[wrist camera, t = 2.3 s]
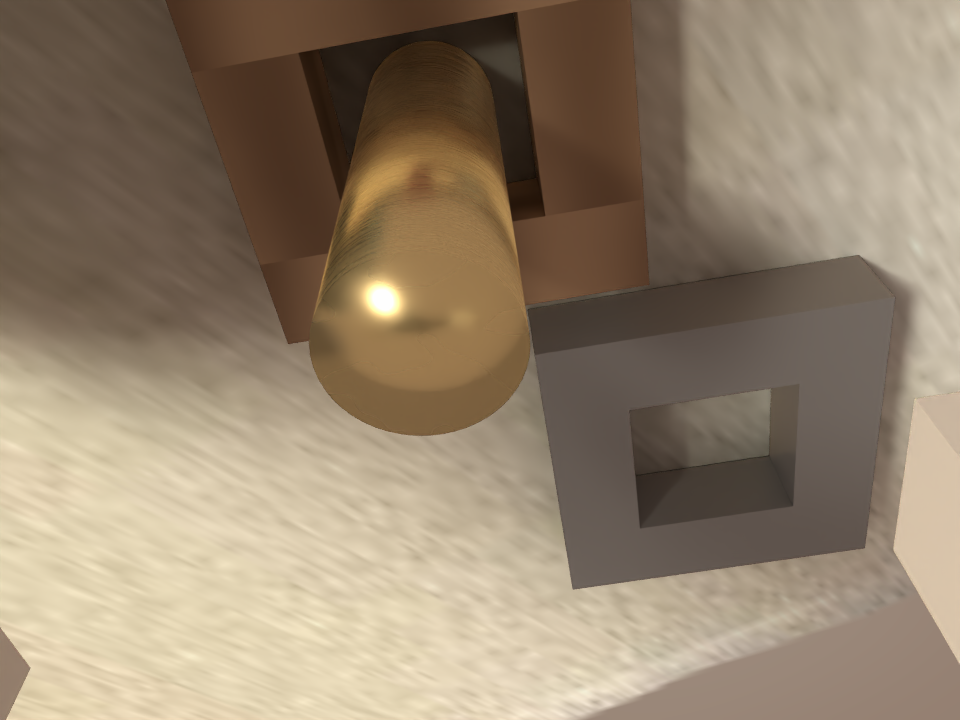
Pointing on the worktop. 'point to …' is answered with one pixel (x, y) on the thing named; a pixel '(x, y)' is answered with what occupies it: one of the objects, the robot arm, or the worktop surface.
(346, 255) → the lock pin
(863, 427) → the plate
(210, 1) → the brown wooden square frame
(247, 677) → the worktop surface
